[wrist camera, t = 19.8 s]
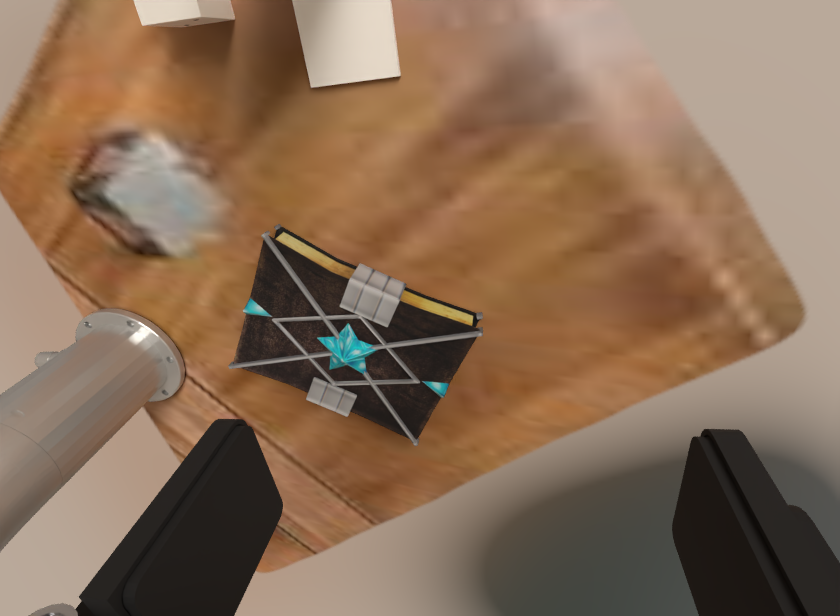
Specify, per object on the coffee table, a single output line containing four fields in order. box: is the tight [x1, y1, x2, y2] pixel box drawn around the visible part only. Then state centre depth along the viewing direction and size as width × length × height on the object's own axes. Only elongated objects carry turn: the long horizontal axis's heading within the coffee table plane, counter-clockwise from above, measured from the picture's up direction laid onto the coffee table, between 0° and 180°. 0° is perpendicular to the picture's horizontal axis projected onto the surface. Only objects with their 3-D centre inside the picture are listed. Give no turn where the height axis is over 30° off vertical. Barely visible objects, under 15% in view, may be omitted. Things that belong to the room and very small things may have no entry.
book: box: [228, 224, 483, 446], centre depth 45 cm, size 22×17×5 cm
